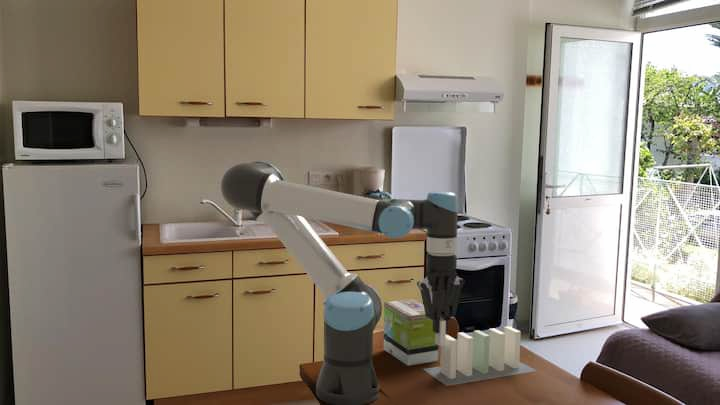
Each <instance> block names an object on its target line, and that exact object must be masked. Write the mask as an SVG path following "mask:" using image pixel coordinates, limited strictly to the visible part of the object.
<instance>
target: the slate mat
mask: <svg viewBox="0 0 720 405" xmlns="http://www.w3.org/2000/svg"><path fill="white" fill-rule="evenodd" d="M422 370H423V371H424V372H426V373H428V374H429V375H431V377H433V378H434V379H436V380H437V381H438V382H440V383H442V384H443V385H445V386H446V387H449V386H455V385H461V384H467V383H474V382H481V381H485V380H486V381H487V380H491V379H498V378H503V377H509V376H515V375H522V374H529V373H534V372H537V371H538V370H537V369H535V368H533V367H531V366H529V365H527V364H525V363H523V362H521V361H520V360H519V368H515V369H514V368H512V367H510V366H509V365H507V364H505V363H504V370H503V371H498V370H496V369H494V368H493V367H491V366H489V367H488V373H484V374H483V373H481V372H480V371H478V370H476V369H475V368H473V367H472V376H466V375H464V374H463V373H461V372H459V371H458V370H456V378H453V379H449V378H448V377H447V376H445V375H444V374H442V373H441V372H440V365H439V366H432V367H428V368H422Z"/></svg>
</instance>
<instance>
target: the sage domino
mask: <svg viewBox="0 0 720 405" xmlns="http://www.w3.org/2000/svg"><path fill="white" fill-rule="evenodd" d="M472 337H473V364H472V367H473V368H475V369H476V370H478V371H480V372H481V373H483V374H484V373H488V367H489V342H490V336H489V334H487V333H485V332H483V331H481V330H479V329H478V330H477V329H476V330H473V336H472Z"/></svg>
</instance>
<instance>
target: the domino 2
mask: <svg viewBox="0 0 720 405" xmlns="http://www.w3.org/2000/svg"><path fill="white" fill-rule="evenodd" d="M456 336H457V338H456V340H457V350H456V370H458V371H459V372H461V373H463V374H464V375H466V376H472V364H473V336H470V335H469V334H467V333H465V332H464V331H463V332H462V331H461V332H457V335H456Z"/></svg>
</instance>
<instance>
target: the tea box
mask: <svg viewBox="0 0 720 405" xmlns="http://www.w3.org/2000/svg"><path fill="white" fill-rule="evenodd" d="M383 351H385V352H387V353H388V354H390V355H392V356H393V357H394V358H396V359H397V360H399V361H400V362H402V363H403V364H405V365H406V366H413V365H419V364H426V363H427V364H428V363H433V362H438V361H439V345H437V344H435V332H433V320H432V319H430V318H428V317H426V315H425V310H424V305H423V302H422V303H421V302H420V301H418V300H416V299H414V298H411V299H410V298H409V299H402V300H393V301H385V302H384V305H383Z"/></svg>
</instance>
